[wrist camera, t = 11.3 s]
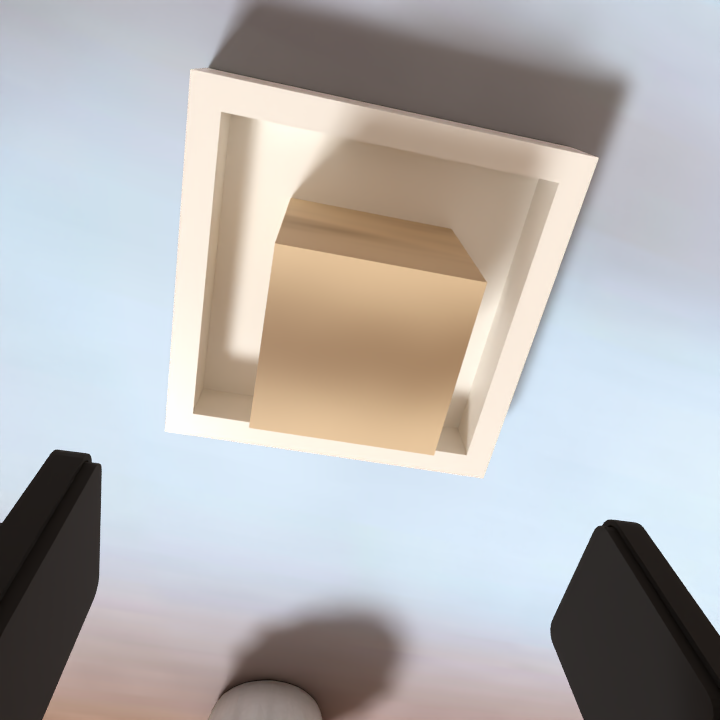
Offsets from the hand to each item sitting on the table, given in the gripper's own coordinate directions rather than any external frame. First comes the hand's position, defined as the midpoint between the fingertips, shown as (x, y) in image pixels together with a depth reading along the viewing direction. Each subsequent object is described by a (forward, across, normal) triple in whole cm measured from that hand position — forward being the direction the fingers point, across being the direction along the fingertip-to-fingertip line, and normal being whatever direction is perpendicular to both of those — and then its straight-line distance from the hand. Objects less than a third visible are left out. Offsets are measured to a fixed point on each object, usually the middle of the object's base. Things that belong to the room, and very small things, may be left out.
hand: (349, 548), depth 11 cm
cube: (+14, -1, -1) cm, 14 cm away
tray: (+14, -1, -1) cm, 14 cm away
